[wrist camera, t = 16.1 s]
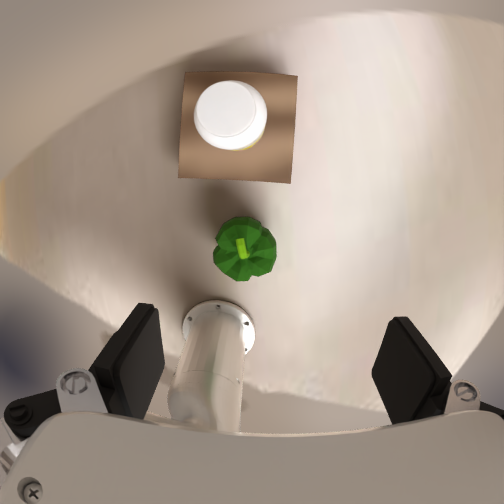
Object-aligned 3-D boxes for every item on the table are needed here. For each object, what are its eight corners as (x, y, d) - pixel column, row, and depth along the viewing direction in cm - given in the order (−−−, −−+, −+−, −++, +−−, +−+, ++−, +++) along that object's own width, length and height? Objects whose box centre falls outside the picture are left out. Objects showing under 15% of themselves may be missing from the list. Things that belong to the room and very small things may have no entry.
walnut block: (286, 180, 40) (290, 183, 34) (189, 174, 40) (178, 177, 34) (292, 87, 35) (297, 75, 30) (195, 83, 35) (185, 72, 30)
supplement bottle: (205, 106, 31) (176, 81, 19) (258, 94, 31) (257, 60, 18) (217, 157, 33) (193, 157, 21) (270, 145, 33) (277, 137, 21)
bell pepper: (268, 268, 44) (270, 299, 35) (215, 258, 44) (204, 286, 34) (280, 216, 42) (287, 234, 32) (225, 205, 41) (215, 219, 32)
